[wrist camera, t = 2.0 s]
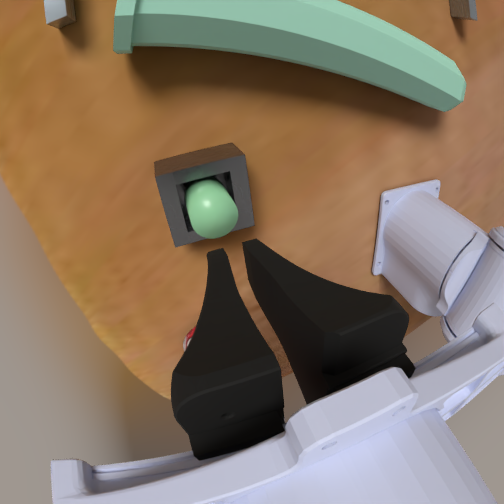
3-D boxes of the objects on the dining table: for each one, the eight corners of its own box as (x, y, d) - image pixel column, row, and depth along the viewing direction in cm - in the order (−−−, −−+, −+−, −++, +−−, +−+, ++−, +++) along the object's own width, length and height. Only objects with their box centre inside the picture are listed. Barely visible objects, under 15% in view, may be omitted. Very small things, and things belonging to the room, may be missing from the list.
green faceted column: (489, 83, 16) (124, -44, 7) (455, 135, 20) (110, 72, 12) (444, 49, 19) (136, -44, 10) (417, 97, 23) (123, 40, 15)
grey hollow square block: (241, 206, 22) (254, 225, 20) (171, 224, 22) (175, 247, 19) (232, 142, 20) (244, 154, 17) (154, 161, 19) (155, 176, 16)
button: (228, 208, 20) (241, 231, 18) (189, 219, 20) (196, 243, 17) (222, 171, 18) (234, 189, 16) (180, 182, 18) (185, 202, 16)
